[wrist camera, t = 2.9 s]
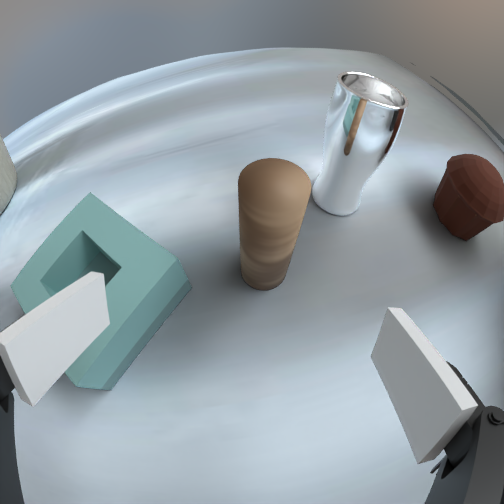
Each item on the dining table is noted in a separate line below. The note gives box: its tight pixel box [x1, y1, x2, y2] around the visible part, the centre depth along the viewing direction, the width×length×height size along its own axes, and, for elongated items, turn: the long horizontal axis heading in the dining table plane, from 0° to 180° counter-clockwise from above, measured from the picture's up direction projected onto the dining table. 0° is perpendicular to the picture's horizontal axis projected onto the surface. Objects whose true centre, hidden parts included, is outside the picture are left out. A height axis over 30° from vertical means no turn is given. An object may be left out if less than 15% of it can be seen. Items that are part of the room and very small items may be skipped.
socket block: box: [11, 192, 192, 390], centre depth 22 cm, size 13×13×6 cm
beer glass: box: [312, 72, 408, 216], centre depth 25 cm, size 7×7×15 cm
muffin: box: [433, 154, 504, 241], centre depth 27 cm, size 12×11×10 cm
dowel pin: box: [238, 158, 311, 290], centre depth 21 cm, size 4×4×12 cm
